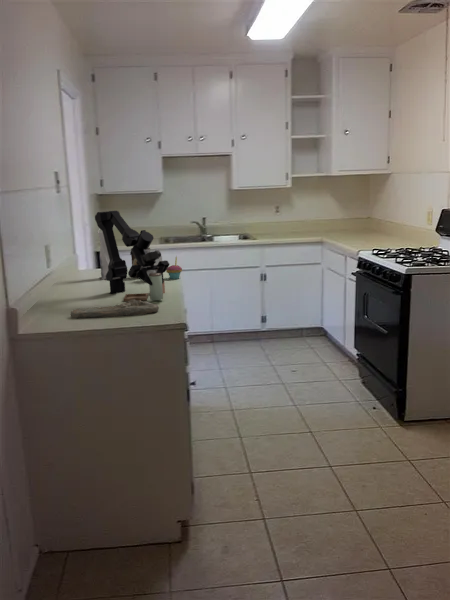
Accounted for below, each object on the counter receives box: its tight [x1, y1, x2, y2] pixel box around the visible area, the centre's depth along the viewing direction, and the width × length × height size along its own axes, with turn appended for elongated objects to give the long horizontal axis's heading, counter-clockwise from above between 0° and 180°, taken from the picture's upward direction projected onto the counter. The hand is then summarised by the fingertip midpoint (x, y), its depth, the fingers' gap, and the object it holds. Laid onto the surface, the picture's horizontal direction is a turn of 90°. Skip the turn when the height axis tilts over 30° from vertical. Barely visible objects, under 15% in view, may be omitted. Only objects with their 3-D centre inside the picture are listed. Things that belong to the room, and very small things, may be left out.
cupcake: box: [165, 255, 183, 280], centre depth 305 cm, size 9×8×12 cm
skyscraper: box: [97, 227, 110, 281], centre depth 311 cm, size 8×8×28 cm
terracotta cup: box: [162, 282, 166, 294], centre depth 267 cm, size 6×6×6 cm
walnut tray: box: [123, 292, 149, 303], centre depth 255 cm, size 10×10×2 cm
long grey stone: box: [70, 299, 159, 319], centre depth 230 cm, size 35×5×10 cm
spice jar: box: [148, 273, 164, 301], centre depth 248 cm, size 6×6×11 cm
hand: (157, 283), depth 247 cm, fingers closed on spice jar, 6 cm apart
